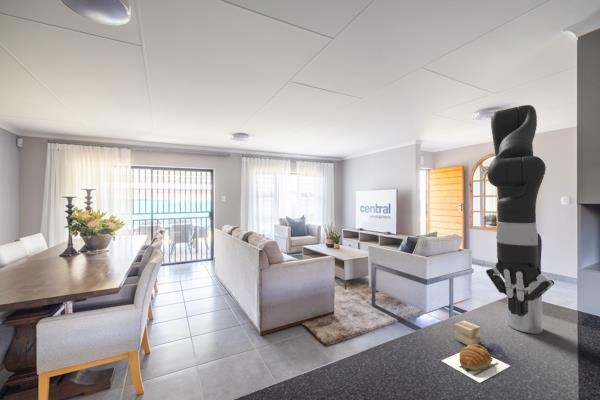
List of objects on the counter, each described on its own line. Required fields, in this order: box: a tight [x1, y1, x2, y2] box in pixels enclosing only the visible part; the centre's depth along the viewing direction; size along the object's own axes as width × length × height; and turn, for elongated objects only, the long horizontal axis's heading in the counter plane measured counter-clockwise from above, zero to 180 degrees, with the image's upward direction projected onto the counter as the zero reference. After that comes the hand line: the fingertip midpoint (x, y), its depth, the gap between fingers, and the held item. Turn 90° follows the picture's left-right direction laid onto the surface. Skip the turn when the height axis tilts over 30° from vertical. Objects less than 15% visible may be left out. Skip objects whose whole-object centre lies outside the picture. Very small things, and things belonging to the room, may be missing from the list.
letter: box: [440, 352, 511, 384], centre depth 71 cm, size 14×10×1 cm
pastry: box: [459, 343, 493, 371], centre depth 70 cm, size 9×7×4 cm
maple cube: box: [453, 320, 481, 346], centre depth 82 cm, size 5×5×5 cm
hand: (518, 314), depth 62 cm, fingers closed
